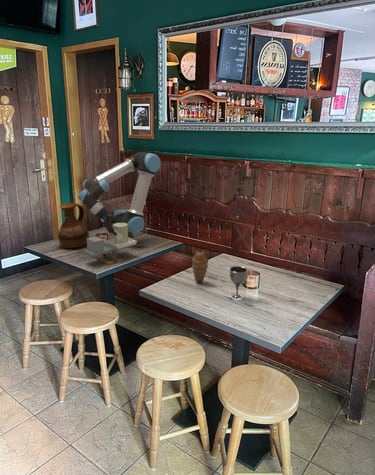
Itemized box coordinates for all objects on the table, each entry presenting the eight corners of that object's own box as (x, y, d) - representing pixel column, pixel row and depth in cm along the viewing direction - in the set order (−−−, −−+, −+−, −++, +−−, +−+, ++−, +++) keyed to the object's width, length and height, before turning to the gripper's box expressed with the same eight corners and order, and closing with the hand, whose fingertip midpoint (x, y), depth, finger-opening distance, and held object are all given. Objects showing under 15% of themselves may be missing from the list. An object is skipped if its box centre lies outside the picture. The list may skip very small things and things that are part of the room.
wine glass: (228, 293, 189) (229, 266, 185) (243, 294, 189) (245, 266, 185) (229, 300, 182) (230, 272, 177) (245, 301, 181) (247, 272, 177)
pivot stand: (109, 255, 240) (108, 243, 238) (123, 261, 230) (122, 249, 228) (95, 258, 234) (95, 246, 231) (109, 265, 223) (108, 252, 221)
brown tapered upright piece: (208, 280, 204) (209, 249, 199) (205, 286, 197) (206, 254, 191) (193, 278, 207) (194, 247, 201) (189, 284, 199) (189, 252, 194)
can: (129, 240, 239) (129, 222, 236) (126, 244, 230) (125, 226, 227) (115, 239, 240) (114, 221, 236) (111, 244, 231) (110, 225, 227)
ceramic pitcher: (53, 246, 255) (49, 203, 246) (77, 239, 271) (73, 198, 262) (72, 252, 245) (68, 207, 236) (95, 244, 260) (93, 202, 251)
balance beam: (123, 240, 245) (123, 228, 243) (136, 246, 236) (136, 233, 233) (82, 251, 225) (81, 238, 223) (94, 257, 216) (93, 243, 213)
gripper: (101, 210, 243) (125, 233, 246) (88, 220, 219) (114, 245, 222) (109, 202, 241) (132, 226, 244) (96, 211, 217) (122, 237, 220)
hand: (124, 235), depth 233 cm, fingers open, 13 cm apart
